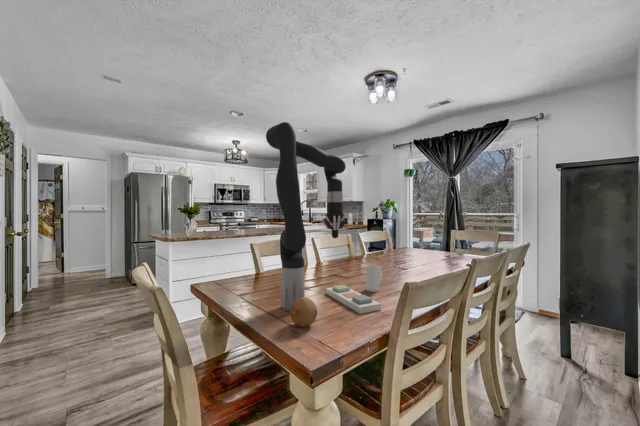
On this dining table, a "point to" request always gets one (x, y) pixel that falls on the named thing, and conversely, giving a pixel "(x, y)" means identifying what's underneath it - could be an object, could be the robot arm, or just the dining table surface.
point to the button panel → (353, 305)
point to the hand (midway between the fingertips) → (335, 238)
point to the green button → (341, 288)
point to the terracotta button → (350, 295)
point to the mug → (373, 277)
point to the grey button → (362, 299)
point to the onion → (303, 312)
